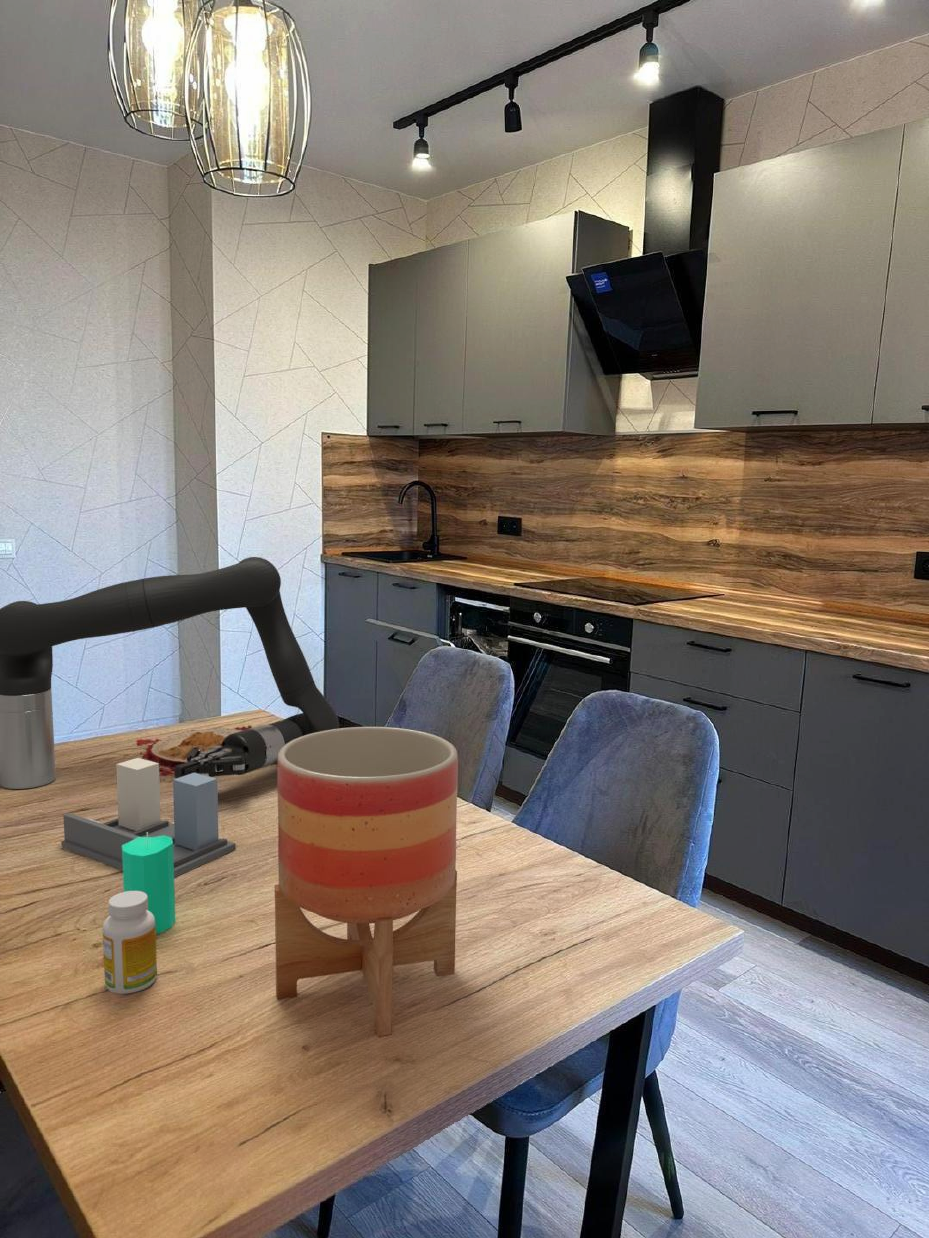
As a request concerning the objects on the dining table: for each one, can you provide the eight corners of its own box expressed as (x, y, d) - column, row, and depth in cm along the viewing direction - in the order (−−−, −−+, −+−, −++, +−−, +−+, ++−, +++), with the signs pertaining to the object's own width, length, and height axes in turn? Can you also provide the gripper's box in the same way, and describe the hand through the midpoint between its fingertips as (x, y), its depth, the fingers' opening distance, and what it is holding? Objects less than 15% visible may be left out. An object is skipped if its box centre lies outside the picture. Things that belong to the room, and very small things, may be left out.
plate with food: (251, 734, 195) (251, 718, 194) (280, 764, 171) (279, 747, 171) (136, 747, 184) (135, 731, 183) (150, 782, 160) (149, 763, 160)
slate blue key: (174, 843, 128) (172, 779, 127) (195, 835, 132) (194, 772, 130) (197, 851, 126) (196, 786, 124) (218, 842, 129) (217, 778, 128)
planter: (479, 1021, 88) (485, 771, 85) (283, 1052, 83) (281, 786, 79) (431, 928, 107) (435, 720, 103) (269, 948, 102) (267, 729, 98)
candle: (185, 916, 109) (183, 827, 107) (154, 939, 103) (150, 845, 101) (146, 908, 111) (143, 820, 109) (113, 930, 105) (110, 837, 103)
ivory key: (118, 825, 135) (116, 764, 133) (139, 817, 138) (137, 757, 137) (139, 832, 132) (137, 769, 131) (160, 823, 136) (158, 763, 134)
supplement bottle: (165, 969, 97) (163, 888, 95) (143, 997, 91) (140, 911, 90) (120, 966, 97) (116, 885, 96) (95, 993, 92) (91, 908, 90)
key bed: (61, 847, 129) (60, 815, 128) (139, 818, 141) (138, 789, 140) (159, 883, 118) (158, 849, 117) (235, 849, 130) (235, 818, 129)
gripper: (227, 723, 159) (149, 744, 144) (280, 734, 152) (205, 758, 137) (227, 762, 160) (151, 787, 145) (280, 775, 153) (205, 803, 138)
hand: (177, 773), depth 141 cm, fingers closed
